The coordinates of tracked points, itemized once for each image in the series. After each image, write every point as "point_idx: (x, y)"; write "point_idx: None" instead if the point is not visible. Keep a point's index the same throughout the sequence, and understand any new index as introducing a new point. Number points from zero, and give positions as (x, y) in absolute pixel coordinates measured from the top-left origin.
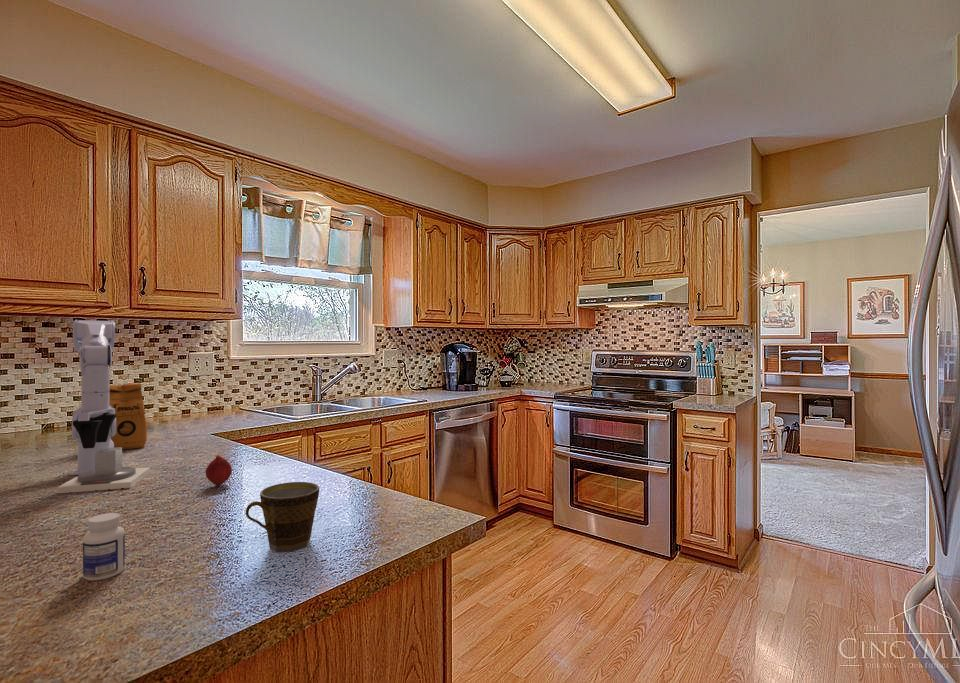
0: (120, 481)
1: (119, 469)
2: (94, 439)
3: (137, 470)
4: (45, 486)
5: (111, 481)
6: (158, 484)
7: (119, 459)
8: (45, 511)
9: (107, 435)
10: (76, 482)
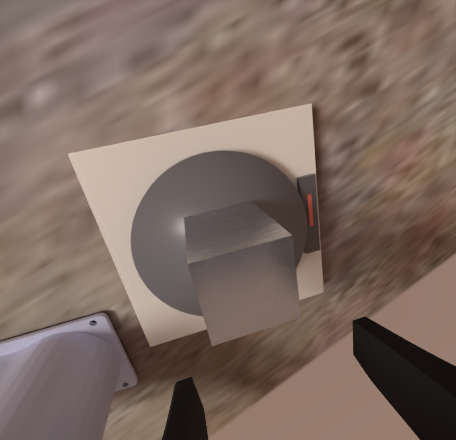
0: (297, 148)
1: (210, 213)
2: (422, 349)
3: (131, 180)
4: (242, 354)
5: (299, 177)
6: (268, 12)
7: (219, 227)
8: (449, 206)
9: (186, 420)
10: None
